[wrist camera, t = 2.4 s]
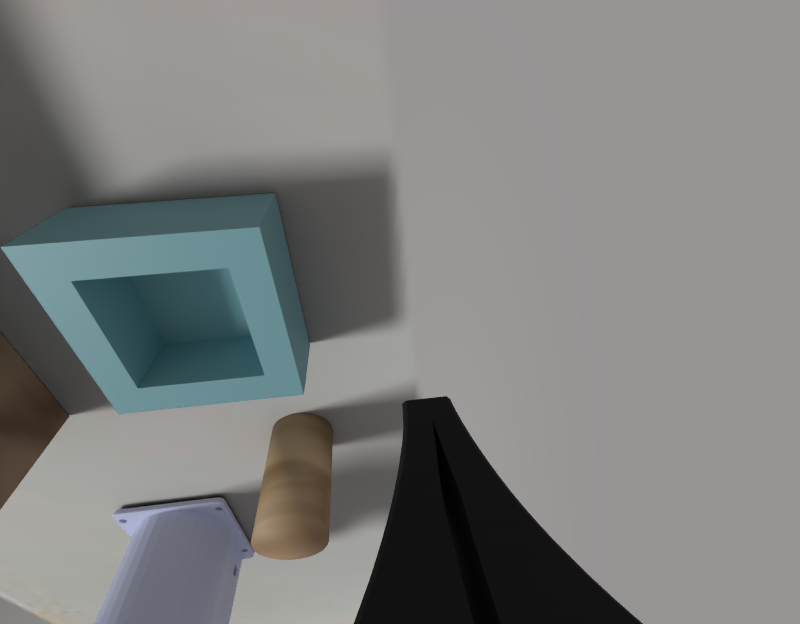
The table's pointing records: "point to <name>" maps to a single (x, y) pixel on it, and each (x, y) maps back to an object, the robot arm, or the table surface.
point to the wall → (23, 419)
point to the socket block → (172, 299)
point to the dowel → (295, 489)
